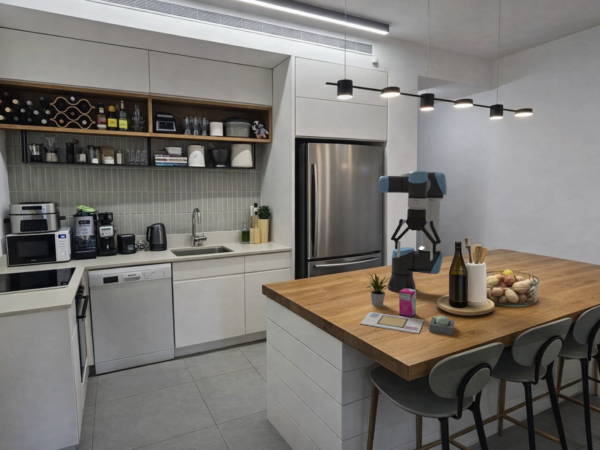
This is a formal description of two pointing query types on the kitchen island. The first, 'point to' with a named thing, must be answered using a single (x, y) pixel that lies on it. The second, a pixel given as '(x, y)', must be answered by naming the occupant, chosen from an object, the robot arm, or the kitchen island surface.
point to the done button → (442, 320)
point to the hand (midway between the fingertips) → (414, 258)
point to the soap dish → (441, 327)
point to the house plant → (377, 291)
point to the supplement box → (407, 302)
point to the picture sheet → (393, 322)
